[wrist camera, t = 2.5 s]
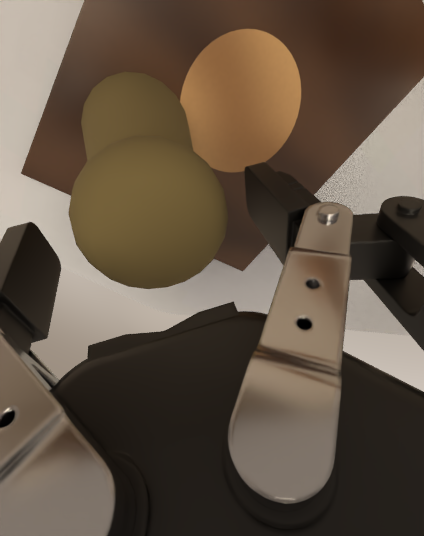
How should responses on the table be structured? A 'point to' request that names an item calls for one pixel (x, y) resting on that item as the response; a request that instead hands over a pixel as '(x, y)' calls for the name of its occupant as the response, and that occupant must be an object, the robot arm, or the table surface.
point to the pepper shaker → (144, 187)
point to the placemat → (242, 86)
